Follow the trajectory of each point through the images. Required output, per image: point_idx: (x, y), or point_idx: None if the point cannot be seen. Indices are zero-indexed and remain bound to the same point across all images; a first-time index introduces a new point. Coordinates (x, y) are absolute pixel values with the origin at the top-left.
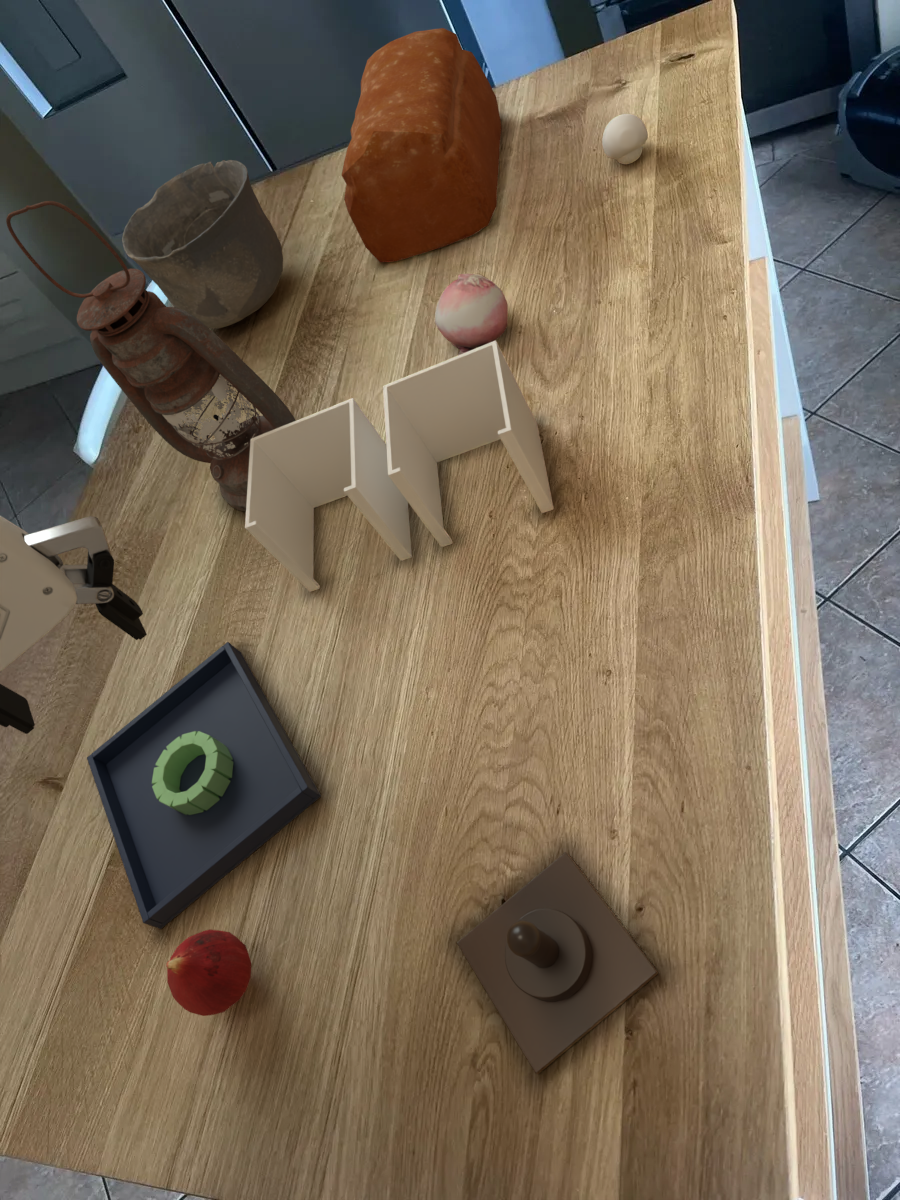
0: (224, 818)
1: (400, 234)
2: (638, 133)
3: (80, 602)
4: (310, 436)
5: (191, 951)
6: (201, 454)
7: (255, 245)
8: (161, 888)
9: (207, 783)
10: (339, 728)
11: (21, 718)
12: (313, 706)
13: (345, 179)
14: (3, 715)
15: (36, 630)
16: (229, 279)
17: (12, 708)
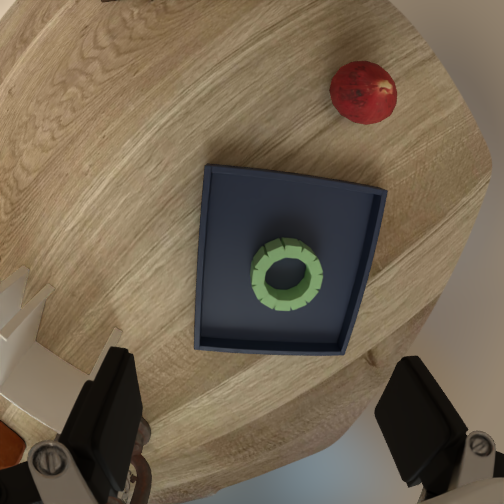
0: (288, 218)
1: (2, 437)
2: None
3: (89, 502)
4: (40, 404)
5: (369, 87)
6: (139, 462)
7: None
8: (361, 213)
9: (279, 247)
10: (159, 205)
11: (413, 381)
12: (167, 242)
13: None
14: (439, 401)
15: None
16: None
17: (412, 407)
